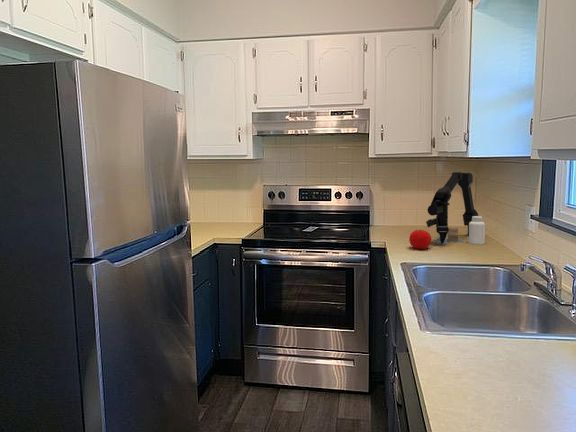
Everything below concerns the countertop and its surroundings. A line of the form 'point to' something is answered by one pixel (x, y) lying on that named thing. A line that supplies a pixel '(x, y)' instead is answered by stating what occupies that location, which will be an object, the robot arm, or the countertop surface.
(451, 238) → the tower base
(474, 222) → the pill bottle
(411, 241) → the tomato
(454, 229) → the tower top
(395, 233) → the countertop surface
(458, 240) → the mat
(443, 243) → the pale grey cube
